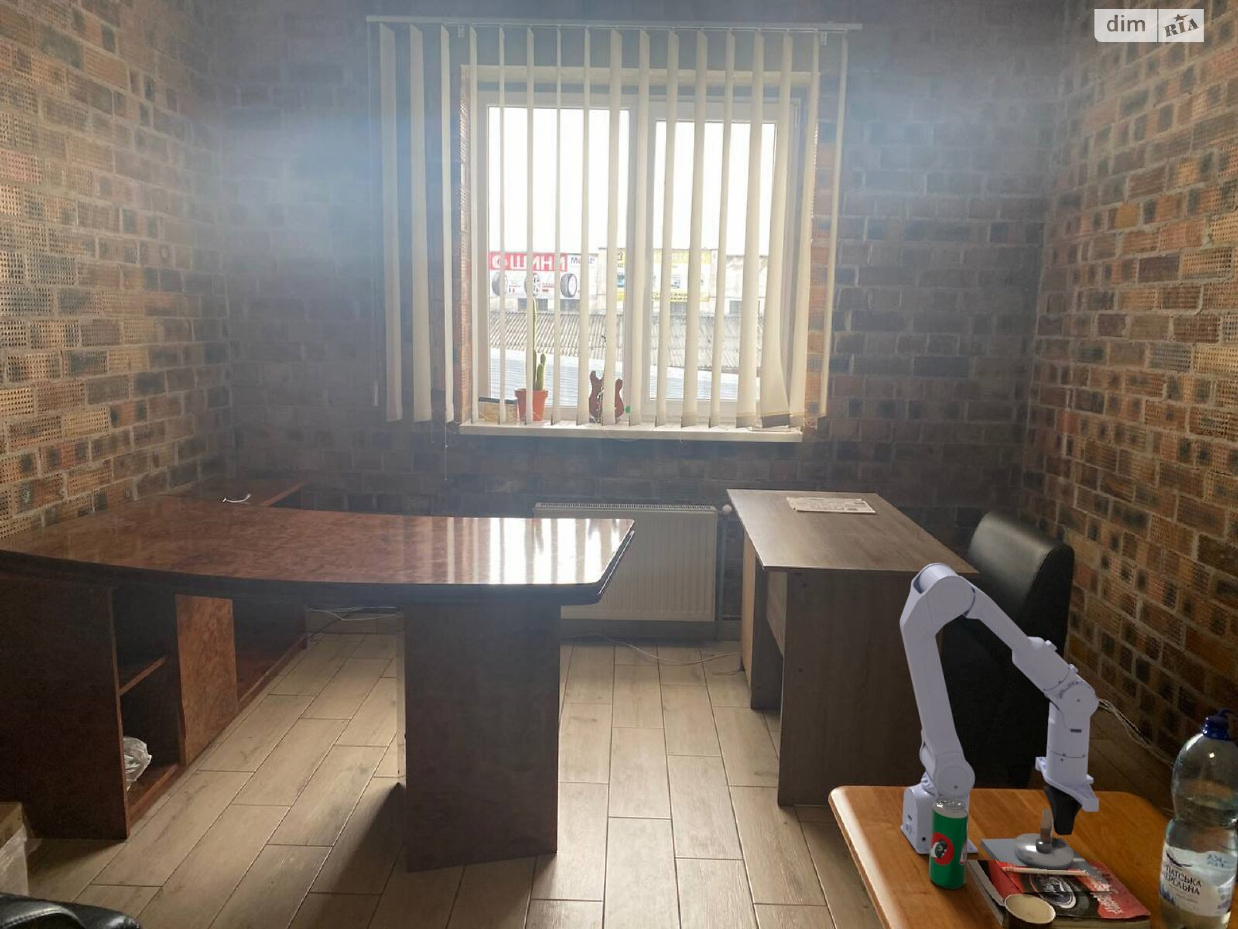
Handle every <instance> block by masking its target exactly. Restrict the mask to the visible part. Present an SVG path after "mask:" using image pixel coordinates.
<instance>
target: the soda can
mask: <svg viewBox="0 0 1238 929" xmlns="http://www.w3.org/2000/svg"><path fill="white" fill-rule="evenodd" d="M969 815H970V812H968V810H967V809H966V804H965V803H964V802H963V801H961V800H959V799H957V798H953V797H938V798H937V799H936V800H935V803H934V804H933V806H932V815H931V836H930V854H929V858H928V859H929V862H928V876H929V878H930V879H931V881H932V882H933V883H934V884H935V885H937V886H939V887H941V888H942V889H946V890H947V889H948V890H955V889H956V890H957V889H960V888H961V887H962V886H964V884H965V883H966V878H967V877H966V876H967V875H966V874H967V857H968V853H967V841H968V839H969V818H970V816H969Z"/></svg>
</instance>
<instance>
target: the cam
mask: <svg viewBox="0 0 1238 929" xmlns="http://www.w3.org/2000/svg"><path fill="white" fill-rule="evenodd" d="M1043 808H1044V807H1043ZM1041 816H1042V820H1041V824H1040V832H1039V833H1033V832H1032V833H1023V834H1020V835H1017V837H1015V838H1014V839H1015V854H1016V856H1017V857H1018V858H1019V859H1020V860H1022V861H1023V862H1025V863H1026V864H1028V865H1031V866H1033V867H1036V868H1039V869H1047V870H1066V869H1069V868H1071V867H1072V865H1073V850H1074V849H1073V848H1072V847H1071V846H1070V845H1069V844H1068V843H1067V842H1066V843H1067V844H1068V845H1069V846H1070V847H1071V848H1072V849H1073V850H1072V849H1071V848H1070V847H1069V846H1068V845H1067V844H1066V843H1064V842H1063V841H1061V840H1059V839H1056V838H1057V837H1054V836H1053V832H1054V825H1053V815H1052V811H1051V808H1044V809H1043V811H1042V813H1041Z"/></svg>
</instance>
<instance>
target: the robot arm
mask: <svg viewBox="0 0 1238 929" xmlns="http://www.w3.org/2000/svg"><path fill="white" fill-rule="evenodd" d="M905 602H906V603H905V605H904V607H903V611H902V613H901V616H900V619H899V629H900V634H901V637H902V641H903V645H904V646H903V647H904V650H905V655H906V660H907V665H908V670H909V673H910V679H911V683H912V687H913V692H914V696H915V701H916V706H917V709H918V713H919V719H920V723H921V730H920V734H921V746H920V749H919V759H920V761H921V764H922V766H924V768H925V772H924V773H923V775H922V778H921V780H920V783H918V784H916V785H912V786H907V787H906V788H905V789H904V792H903V804H902V825H900V830H901V831H902V833H903V834H904V836H905V837H906V838H907V840H908V841H909V842H910V844H911V846H912V847H913V848H914V850H915V852H916V853H918V854H919V855H920V854H921V855H925V854H926V855H930V836H931V815H932V806H933V804H934V803H935V800H936V799H937V798H938V797H953V798H957V799H959V800H961V801H963V802H964V803H965V804H966V809H967V810H968V812H969V810H970V809H969V808H970V792H971V790H972V789H973V788H974V785H975V780H976V776H975V772H974V769H973V767H972V766H971V765H970V764H969V762H968V761H966V758H965V755H964V750H963V747H962V745H961V742H960V739H959V737H958V735H957V731H956V727H955V723H954V718H953V713H952V708H951V703H950V700H949V694H948V690H947V685H946V680H945V678H944V671H943V668H942V667H943V666H942V663H941V658H940V653H939V648H938V643H937V640H936V634H938V633H939V631H940V630H941V629H942V628H943V627H944V626H945V625H946V624H948V623H950V622H952V621H953V620H955V619H956V618H958V617H960V616H961V615H962V616H964V617H965V618H966V619H975V620H976V619H977V620H980V621H981V623H983V624H984V625H985V626H986V627H988V628H989V630H991V631H992V632H993V633H994V634H995V635H996V636H997V637H998V639H1000V640H1001V641H1002V642H1004V644H1005V645H1007V647H1009V648H1010V649H1011V651H1012V652H1011V653H1012V656H1011V658H1012V664H1014V665H1015V667H1017V669H1019V671H1021V672H1022V673H1023V674H1024V675H1025V677H1027V678H1028V679H1029V680H1030V681H1031V682H1032V683H1033V684H1034V685H1035V687H1037V689H1039V690H1040V691H1041V692H1042V693H1044V694H1043V695H1044V696H1045V697H1046V698H1047V699H1049V700H1050V702H1049V707H1048V708H1049V710H1048V713H1049V714H1048V721H1047V722H1048V724H1047V725H1048V726H1047V744H1046V756H1045V757H1044V756H1039V757H1038V756H1036V757H1035V769H1036V770H1037V771H1038V772H1041V773H1042V776H1043V779H1044V781H1045V783H1047V784H1049V785H1045V786H1043V788H1042V790H1043V791H1042V792H1044V795H1045V797H1046V799H1047V801H1048V804H1049V806H1050V809H1051V811H1052V815H1053V831H1054V832H1055V833H1056V834H1057V835H1058V836H1071V835H1072V834H1073V831H1074V826H1075V820H1076V818H1077V816H1078V813H1079V811H1080V810H1081V809H1082V810H1083V811H1084V812H1087V813H1088V812H1091V813H1093V812H1099V804H1100V799H1099V798H1098V796H1096V795H1095V792H1094V790H1093V789H1092V786H1091V785H1092V784H1094V777H1092V776H1091V775H1090V774H1088V762H1089V761H1088V760H1089V749H1090V748H1089V746H1090V730H1091V728H1090V727H1091V726H1090V724H1091V716H1092V715H1094V713H1095V712H1096V711H1097V709H1098V707H1099V704H1100V700H1099V699H1097V695H1096V691H1095V689H1094V688H1093V687H1092V686H1091V685H1090V684H1089V683H1088V682H1087V681H1086V680H1084V679H1083V678H1082V677H1080V675H1078V674H1077V673H1078V672H1079V669H1078V668H1077V667H1076V666H1074V664H1071V663H1070V664H1068V663H1067V662H1066V661H1065V660H1064V659H1063V657H1061V655H1059V654H1058V652H1056V650H1058V648H1057V646H1056V645H1055V644H1053V643H1052V642H1051V641H1050V640H1046V641H1045V640H1044V639H1043V638H1041V637H1038V636H1036V637H1035V636H1028V635H1026V634H1025V633H1024V632H1023V630H1022V629H1021V628H1020V627H1019V626H1018V625H1017V624H1016V623H1015V622H1014V621H1013V620H1012V619H1011V618H1010V617H1009V616H1008V614H1006V612H1004V610H1002V609H1001V608H1000V607H999V606H998V604H997V603H996V602H995V601H994V600H993V599H992V598H991V597H990V596H989V595H987V594H986V593H985V592H984V591H982V590H981V589H980V588H978V586H976V585H974V584H973V583H971V582H970V581H969V580H967V579H966V578H964V577H963V576H962V575H958V574H957V573H956V571H955V570H954V569H953V568H952V567H950V566H949V565H948V564H945V563H941V562H934V563H930V564H928V565H926V566H924V567H923V568H922V569H921V570H920V571H919V572H918V574H916V576H914V578H912V580H911V584H910V591H909V594H908V597H907V600H906V601H905ZM969 813H970V812H969ZM973 853H975V854H976V853H978V848H977V846H975V845H974V843H973V842H972V841H971V840H970V839H969V838H968V841H967V854H973Z"/></svg>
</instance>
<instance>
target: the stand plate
mask: <svg viewBox="0 0 1238 929" xmlns="http://www.w3.org/2000/svg"><path fill="white" fill-rule="evenodd" d="M1055 838H1056V839H1059V840H1061V841H1063V842H1064V843H1066V844H1067V845H1068V846H1069V847H1070V848H1071V849H1072V850H1073V865H1072V867H1071V868H1069V869H1076V870H1077V869H1080V870H1081V871H1082V870H1083V871H1084V870H1086V871H1085V873H1087V872H1088V873H1089V874H1090V875H1091V876H1096V878H1094V877H1093V879H1102V881H1101V883H1107V884H1108V883H1109V882H1108V881H1107V880H1106V879H1105V878H1104V877H1102V875H1100V873H1098V872H1097V870H1096V869H1094V868H1093V866H1091V864H1089V862H1087V861H1086V860H1085V859H1084V858H1083V857H1082V856H1081V855H1080V854H1079V853H1077V851H1076V850H1075V849H1073V848H1072V847H1071V846H1070V845H1069V843H1067V842H1066V840H1064V839H1063V838H1062V837H1055ZM1015 839H1016V838H986V839H985V838H984V839H983V838H981V839H980V847H981V848H982V849H983V850H984V851H985V852H986V854H988V856H989V857H990V858H991V859H992V860H993V859H995V860H997V861H999V862H1005V863H1006V862H1007V863H1013V864H1014V865H1017V866H1031V865H1028V864H1026V863H1025V862H1023V861H1022V860H1020V859H1019V858H1018V857H1017V856H1016V854H1015ZM1090 875H1089V876H1090ZM1097 876H1098V878H1097ZM1091 878H1092V877H1091ZM1103 879H1104V880H1103ZM1099 882H1100V881H1099ZM1105 885H1106V884H1105ZM1108 885H1110V886H1111V884H1110V883H1109V884H1108Z"/></svg>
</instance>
